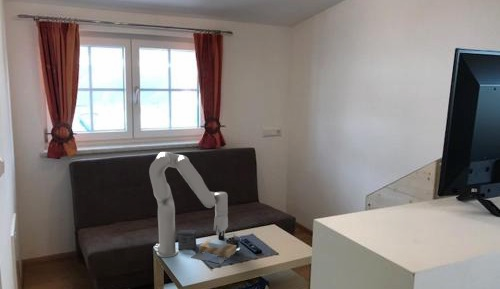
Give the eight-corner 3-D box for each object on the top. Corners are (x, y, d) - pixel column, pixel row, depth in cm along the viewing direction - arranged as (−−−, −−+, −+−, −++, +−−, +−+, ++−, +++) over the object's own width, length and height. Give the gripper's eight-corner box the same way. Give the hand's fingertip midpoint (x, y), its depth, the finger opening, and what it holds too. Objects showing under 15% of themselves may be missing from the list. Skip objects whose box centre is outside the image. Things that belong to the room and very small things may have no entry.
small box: (196, 245, 245) (196, 229, 243) (195, 249, 238) (195, 233, 237) (179, 245, 244) (179, 229, 243) (178, 250, 238) (177, 233, 236)
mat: (190, 257, 227) (190, 257, 227) (199, 251, 235) (199, 251, 235) (220, 264, 219) (220, 263, 219) (228, 258, 227) (228, 257, 227)
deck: (199, 251, 235) (199, 245, 235) (208, 245, 244) (207, 239, 244) (228, 258, 227) (228, 251, 226) (236, 251, 236) (236, 245, 235)
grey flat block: (208, 246, 234) (208, 242, 233) (213, 242, 239) (213, 238, 239) (221, 248, 230) (221, 244, 229) (226, 245, 235) (226, 241, 235)
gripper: (221, 208, 244) (222, 236, 247) (209, 215, 231) (209, 244, 234) (232, 209, 241) (232, 238, 244) (220, 216, 228) (220, 246, 230)
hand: (221, 241), depth 239 cm, fingers closed
